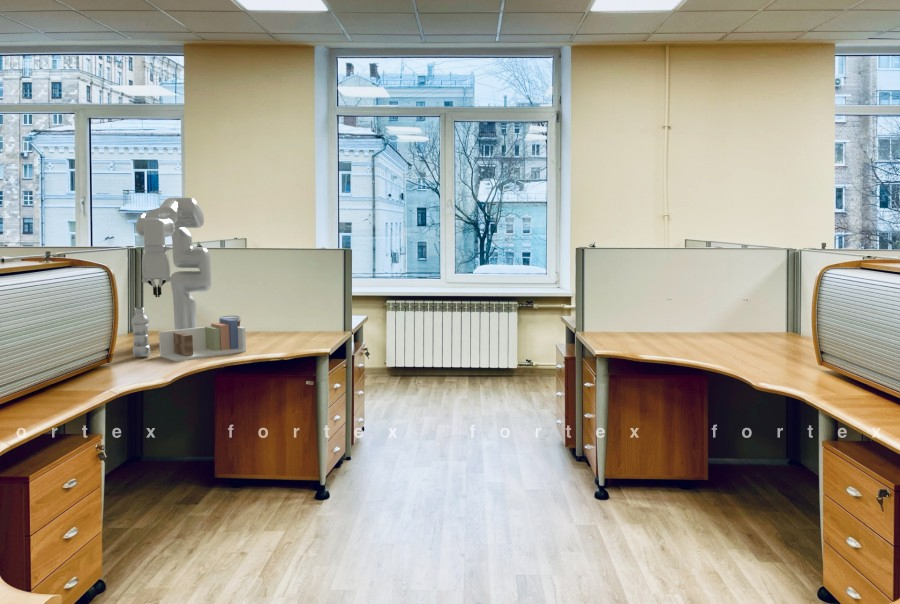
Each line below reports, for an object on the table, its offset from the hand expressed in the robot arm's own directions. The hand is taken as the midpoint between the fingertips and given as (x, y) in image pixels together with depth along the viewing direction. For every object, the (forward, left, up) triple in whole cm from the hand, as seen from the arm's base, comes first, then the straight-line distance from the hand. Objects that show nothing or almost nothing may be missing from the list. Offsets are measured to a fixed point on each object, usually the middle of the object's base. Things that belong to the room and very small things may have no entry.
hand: (157, 296), depth 279 cm
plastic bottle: (-9, -4, -25) cm, 27 cm away
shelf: (+2, +17, -25) cm, 30 cm away
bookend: (+2, +8, -24) cm, 25 cm away
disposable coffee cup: (-14, +37, -25) cm, 47 cm away
